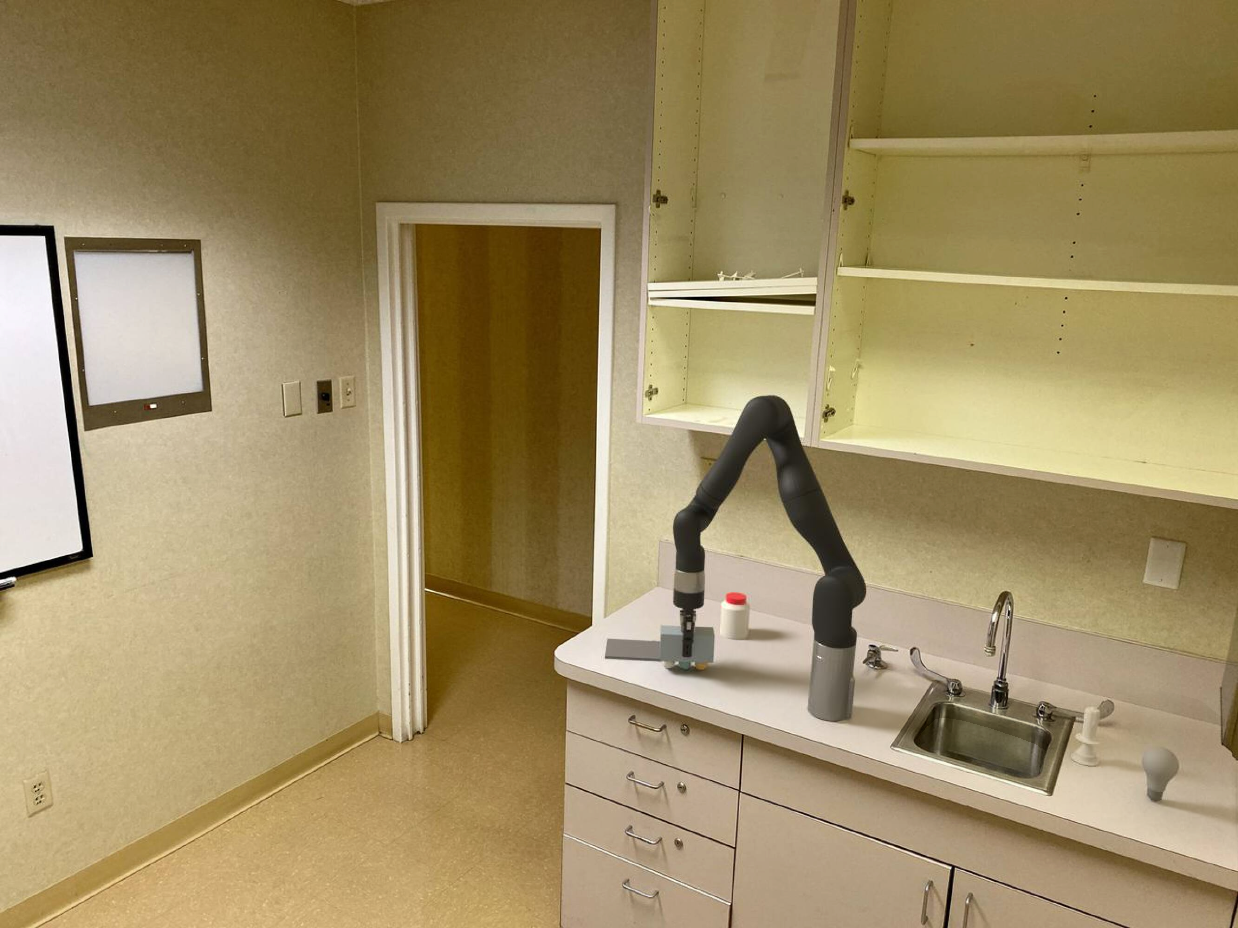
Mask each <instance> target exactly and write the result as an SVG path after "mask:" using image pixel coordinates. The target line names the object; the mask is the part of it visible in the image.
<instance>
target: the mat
mask: <svg viewBox="0 0 1238 928" xmlns="http://www.w3.org/2000/svg"><path fill="white" fill-rule="evenodd" d="M604 659H611V660H612V659H615V660H631V661H645V662H646V661H649V662H651V661H652V662H661V661H660V640H659V641H658V640H645V639H644V640H643V639H642V640H641V639H626V638H625V639H622V638H621V639H620V638H607V639H606V646H605V652H604Z"/></svg>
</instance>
